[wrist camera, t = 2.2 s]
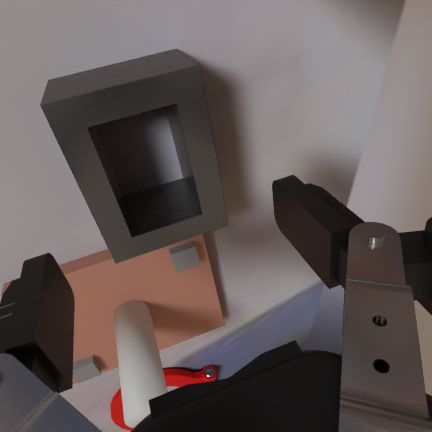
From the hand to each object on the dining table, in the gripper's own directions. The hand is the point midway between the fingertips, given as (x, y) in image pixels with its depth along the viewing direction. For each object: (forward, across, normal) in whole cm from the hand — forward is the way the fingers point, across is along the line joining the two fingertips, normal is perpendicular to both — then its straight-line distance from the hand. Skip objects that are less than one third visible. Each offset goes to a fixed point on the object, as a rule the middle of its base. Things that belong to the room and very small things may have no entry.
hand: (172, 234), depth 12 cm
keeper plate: (+8, +4, +10) cm, 14 cm away
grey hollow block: (+8, 0, -1) cm, 8 cm away
